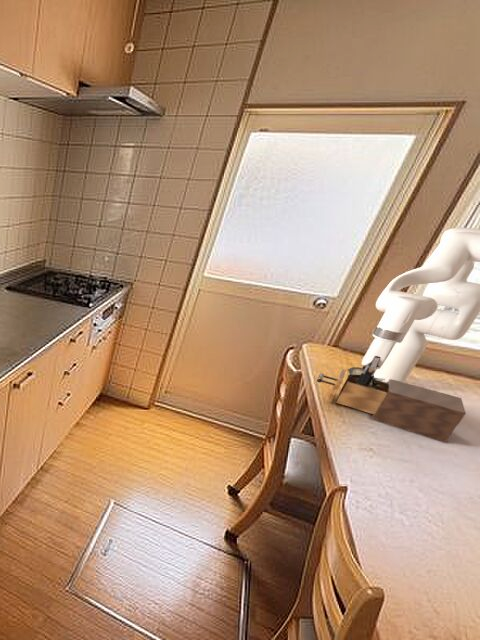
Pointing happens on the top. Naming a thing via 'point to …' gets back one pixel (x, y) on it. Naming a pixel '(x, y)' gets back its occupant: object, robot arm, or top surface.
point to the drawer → (356, 393)
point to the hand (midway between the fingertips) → (362, 381)
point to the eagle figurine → (357, 372)
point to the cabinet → (420, 410)
